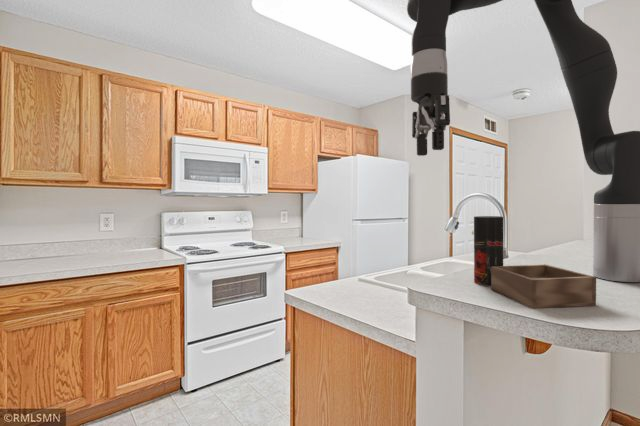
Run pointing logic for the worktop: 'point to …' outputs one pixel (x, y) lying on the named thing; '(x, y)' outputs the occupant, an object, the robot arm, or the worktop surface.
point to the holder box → (543, 286)
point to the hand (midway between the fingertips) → (429, 152)
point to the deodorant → (487, 247)
